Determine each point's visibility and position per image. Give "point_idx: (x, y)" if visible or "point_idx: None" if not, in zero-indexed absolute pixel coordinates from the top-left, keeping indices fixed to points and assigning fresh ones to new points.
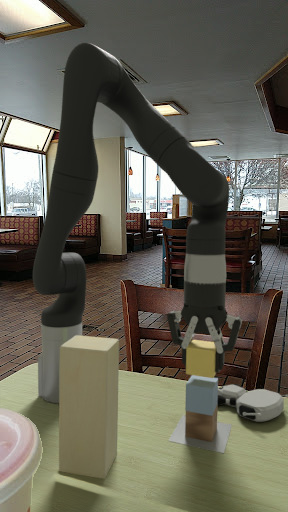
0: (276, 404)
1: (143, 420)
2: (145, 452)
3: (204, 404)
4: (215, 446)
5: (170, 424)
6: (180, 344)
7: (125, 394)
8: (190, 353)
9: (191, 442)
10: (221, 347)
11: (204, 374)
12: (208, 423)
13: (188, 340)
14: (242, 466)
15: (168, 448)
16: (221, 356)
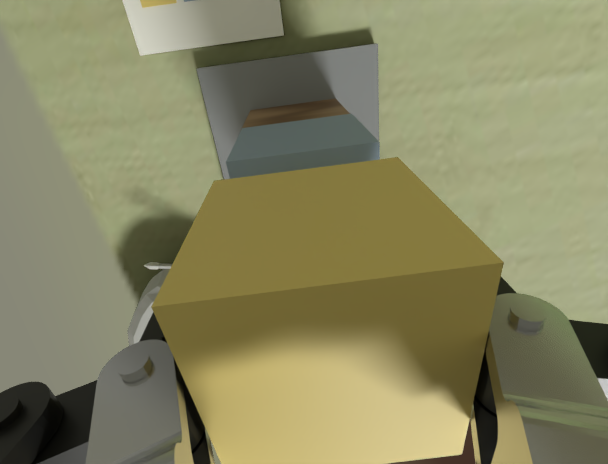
0: (132, 331)
1: (485, 138)
2: None
3: (273, 133)
4: (232, 93)
5: (401, 159)
6: (573, 328)
7: (571, 243)
8: (422, 231)
9: (305, 74)
10: (106, 399)
11: (272, 180)
12: (259, 119)
13: (523, 379)
14: (135, 52)
15: (367, 24)
16: (156, 332)
